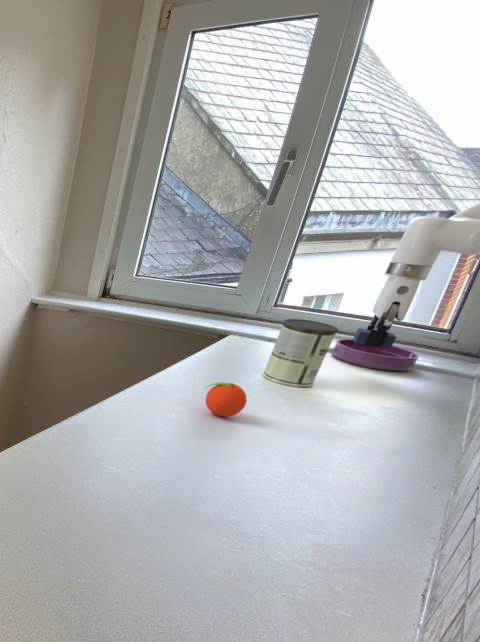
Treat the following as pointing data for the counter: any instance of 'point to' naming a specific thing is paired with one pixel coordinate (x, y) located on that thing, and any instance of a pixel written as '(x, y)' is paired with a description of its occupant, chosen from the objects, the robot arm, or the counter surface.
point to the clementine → (225, 399)
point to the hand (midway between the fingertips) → (371, 343)
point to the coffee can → (299, 352)
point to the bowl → (374, 356)
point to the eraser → (364, 333)
